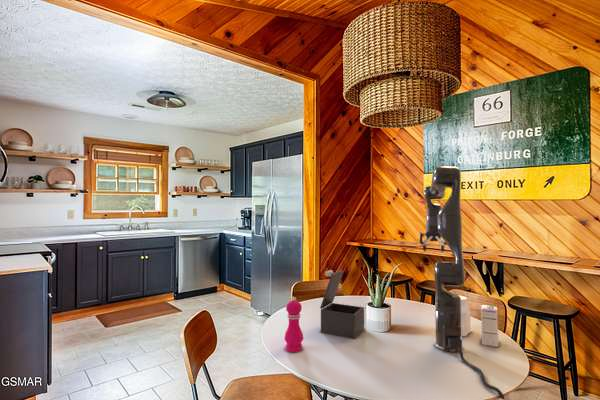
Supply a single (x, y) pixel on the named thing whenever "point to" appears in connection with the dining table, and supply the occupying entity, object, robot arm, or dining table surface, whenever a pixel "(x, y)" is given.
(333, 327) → the dark lidded box
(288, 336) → the pepper mill
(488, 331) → the syrup box
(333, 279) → the lid
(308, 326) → the dining table surface
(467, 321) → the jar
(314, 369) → the dining table surface
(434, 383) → the dining table surface
